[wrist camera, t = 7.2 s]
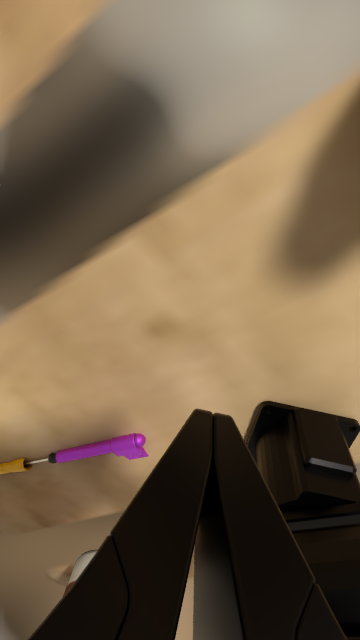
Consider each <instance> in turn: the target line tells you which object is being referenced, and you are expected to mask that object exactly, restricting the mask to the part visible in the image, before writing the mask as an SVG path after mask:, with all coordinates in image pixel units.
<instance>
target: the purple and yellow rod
mask: <svg viewBox="0 0 360 640" xmlns="http://www.w3.org/2000/svg"><path fill="white" fill-rule="evenodd" d="M144 443H145V437H144V435H142V434H135V433H134V434H129V435H125V436H120V437H116V438H112V439H111V440H107V441H102V442H97V443H93V444H88V445H84V446H79V447H74V448H70V449H65V450H61V451H57V452H56V453H51V454H50V455H49V457H48V458H44V459H39V460H34V461H30V462H25V463H23V462H24V459H25V458H21V459H16V460H15V461H11V462H7V463H2V464H0V475H1V474H6V473H11V472H22V471H27V470H30V469H31V468H32V466H30V467H25V468H24V466H23V465H28V464H33V463H38V462H43V461H47V460H48V461H49V462H50V463H56V462H58V463H62V462H67V461H72V460H77V459H82V458H87V457H92V456H98V455H103V454H108V453H115V454H116V455H117V456H122V455H124V456H125V457H127V458H128V459H129V460H131V459H136V458H142V457H147V456H148V455H147V453H146V452H145V450H144V448H143V447H142V446H143V445H144ZM140 454H142V455H140ZM132 456H133V457H132Z"/></svg>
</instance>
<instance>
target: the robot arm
mask: <svg viewBox="0 0 360 640" xmlns="http://www.w3.org/2000/svg"><path fill="white" fill-rule="evenodd" d="M267 408H271V409H269V410H267ZM351 426H353V427H351ZM359 432H360V425H359V423H358V421H357V420H355V419H351V418H346V417H342V416H337V415H332V414H328V413H323V412H318V411H314V410H309V409H304V408H300V407H295V406H291V405H286V404H281V403H277V402H272V401H265V402H263V403H262V404H261V406H260V409H259V412H258V414H257V417H256V420H255V422H254V425H253V427H252V430H251V433H250V435H249V438H248V440H247V443H245V441H244V439H243V437H242V435H241V434H240V432H239V430H238V428H237V426H236V424H235V422H234V420H233V418H232V417H231V416H229V415H225V414H220V413H214V414H212V412H210V411H206V410H201V409H195V410H194V411H193V412H192V414H191V415H190V417H189V418H188V420H187V421H186V422H185V424H184V425H183V427H182V428H181V430H180V431H179V433H178V434H177V436H176V437H175V438H174V440H173V441H172V443H171V444H170V446H169V447H168V449H167V450H166V452H165V453H164V455H163V456H162V457H161V459H160V460H159V462H158V463H157V465H156V466H155V468H154V469H153V471H152V472H151V474H150V475H149V476H148V478H147V479H146V481H145V482H144V484H143V485H142V487H141V488H140V490H139V491H138V493H137V494H136V495H135V497H134V498H133V500H132V501H131V503H130V504H129V506H128V507H127V509H126V510H125V512H124V513H123V514H122V516H121V517H120V519H119V520H118V522H117V523H116V525H115V526H114V528H113V529H112V531H111V533H110V536H107V537H106V539H105V540H104V542H103V543H102V545H101V546H100V548H99V549H98V550H97V552H96V553H95V555H94V556H93V558H92V559H91V560H90V562H89V563H88V565H87V566H86V567H85V569H84V570H83V571H82V573H81V574H80V575H79V577H78V578H77V580H76V581H75V582H74V584H73V585H72V586H71V588H70V589H69V590H68V592H67V593H66V594H65V595H64V596H63V598H62V599H61V600H60V601H59V603H58V604H57V605H56V606H55V608H54V609H53V610H52V611H51V613H50V614H49V615H48V616H47V618H46V619H45V620H44V621H43V622H42V624H41V625H40V626H39V627H38V628H37V630H36V631H35V632H34V633H33V634H32V635H31V637H30V638H29V639H28V640H175V636H176V631H177V626H178V621H179V617H180V612H181V607H182V602H183V598H184V593H185V588H186V583H187V578H188V574H189V569H190V564H191V559H192V554H193V550H194V545H195V558H194V611H193V612H194V614H193V640H360V483H359V480H358V478H357V475H356V471H357V469H356V466H355V464H354V461H353V458H352V456H351V453H350V450H349V448H350V446H351V445H352V443H353V441H354V440H355V438H356V437H357V435H358V433H359Z"/></svg>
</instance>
